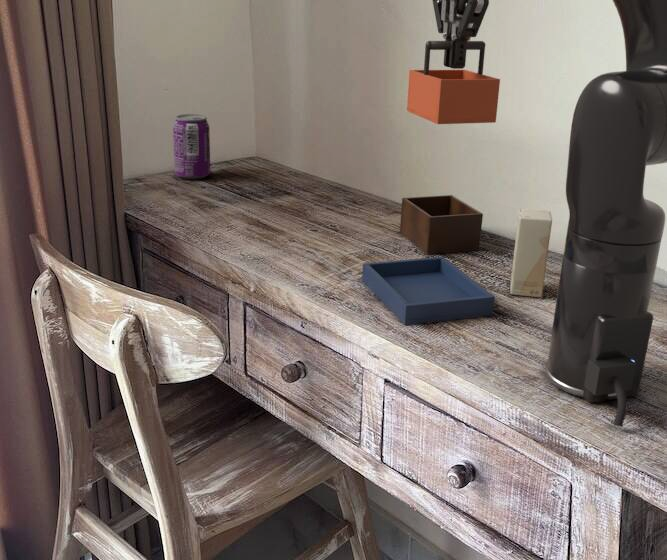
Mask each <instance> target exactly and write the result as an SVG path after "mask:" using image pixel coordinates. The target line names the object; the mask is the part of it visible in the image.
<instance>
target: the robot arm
mask: <svg viewBox="0 0 667 560" xmlns="http://www.w3.org/2000/svg"><path fill="white" fill-rule="evenodd" d="M612 2H613V4H614V7H615V9H616V11H617V14H618V17H619V19H620V23H621V28H622V33H623V40H624V49H625V70H621V71H620V70H619V71H611V72H606V73H602V74H599V75H598V76H596V77H594V78H592V80H590V81H589V82H588V83H587V84H586V85H585V87H584V88H583V90H582V91H581V93H580V94H579V96H578V99H577V101H576V104H575V107H574V110H573V114H572V120H571V127H570V136H569V146H568V157H567V167H566V178H565V198H566V203H567V207H568V213H569V214H568V223H567V228H566V236H565V241H564V248H563V255H562V260H561V261H562V263H561V269H560V275H559V281H558V288H557V295H556V301H555V309H554V316H553V322H552V327H551V328H552V329H551V334H550V341H549V342H550V343H549V350H548V358H547V361H546V364H545V368H544V369H545V370H544V374H545V377H546V378H547V380H548V381H549V382H550V383H551V384H552V386H554V387H556V388H557V389H559V390H561V391H563V392H565V393H568V394H570V395H572V396H573V395H574V396H576V397H579V398H582V399H584V400H585V401H587V402H588V403H599V402H604V401H611V400H617V410H616V414H615V418H614V422H613V425H614V426H617V427H623V424H624V421H625V418H626V414H627V398H630V397H631V398H632V397H636V396H639V392H640V387H641V381H642V377H643V373H644V366H645V361H646V356H647V351H648V347H649V342H650V336H651V331H652V326H653V323H654V314H653V313H652V312H650V311H649V310H648V309H649V306H650V300H651V294H652V289H653V284H654V278H655V273H656V269H657V264H658V258H659V255H660V250H661V245H662V244H661V243H662V239H663V235H664V230H665V224H666V213H665V211H664V209H663V208H662V207H661V206H660V205H659V204H657V203H655V202H654V201H652V200H649V199H646V198H645V197H644V188H645V187H644V185H645V177H646V168H647V167H648V166H653V165H660V164H661V165H662V164H667V0H612ZM432 5H433V12H434V17H435V22H436V26H437V27H436V28H437V32H438V34H442V38H443V39H444V41H451V45H450V50H443V66H444V67H446V68H450V69H452V70H464V68H465V67H466V61H467V60H466V59H467V51H468V50H467V41H471V38H476V37H477V36H478V33H479V30H480V28H481V26H482V23H483V21H484V17H485V15H486V12H487V10H488V7H489V5H490V0H432Z"/></svg>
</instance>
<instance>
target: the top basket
mask: <svg viewBox="0 0 667 560" xmlns="http://www.w3.org/2000/svg"><path fill="white" fill-rule="evenodd" d="M450 45H451V41H445V40H428V41H426V43H425V47H424V63H423V69H409V71H408V84H407V85H408V88H407V101H406V103H407V104H406V112H409V113H410V114H412V115H415V116H418V117H420V118H423V119H424V120H427V121H429V122H432V123H434V124H436V125H459V124H460V125H461V124H487V123H488V124H492V123H493V124H494V123H497V113H498V104H499V95H500V85H501V79H500V78H497V77H493V76H491V75H487V74H484V63H485V53H486V43H485V41H483V40H469V41H467V50H466V51H479V56H478V65H477V66H478V67H477V72H475V71H472V70H468V69H430V59H431V51H444V50H450Z"/></svg>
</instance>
